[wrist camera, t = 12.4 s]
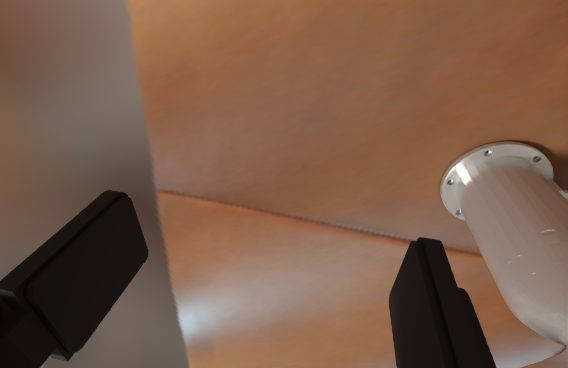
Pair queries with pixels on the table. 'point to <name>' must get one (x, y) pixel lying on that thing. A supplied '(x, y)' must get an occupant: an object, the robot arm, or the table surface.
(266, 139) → the table surface
